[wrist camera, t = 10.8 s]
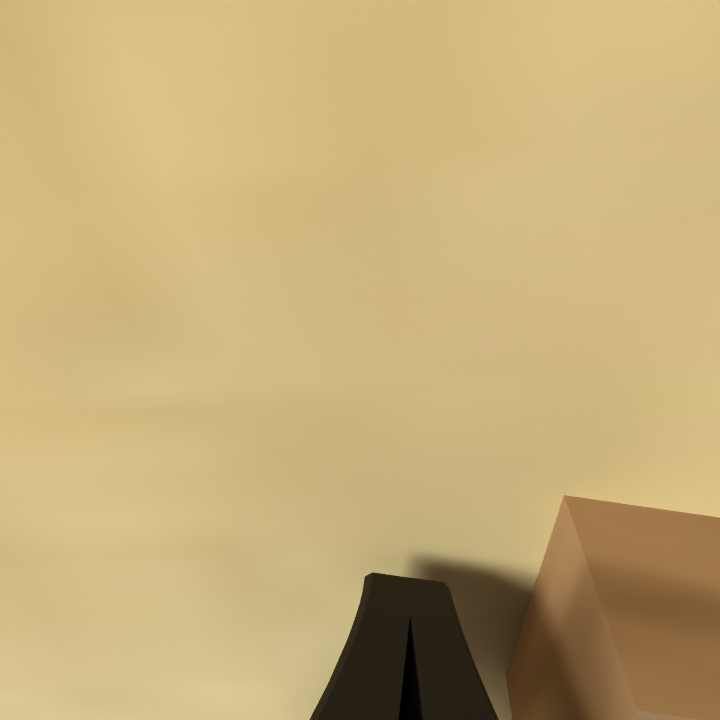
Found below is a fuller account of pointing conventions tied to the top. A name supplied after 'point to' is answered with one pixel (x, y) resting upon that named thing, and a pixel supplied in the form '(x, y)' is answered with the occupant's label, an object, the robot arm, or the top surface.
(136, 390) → the top surface
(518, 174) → the top surface
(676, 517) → the block
